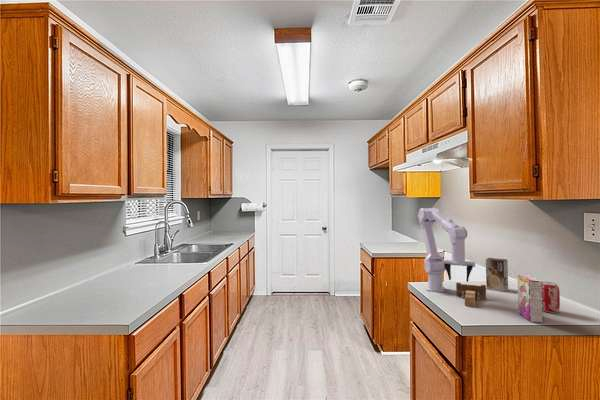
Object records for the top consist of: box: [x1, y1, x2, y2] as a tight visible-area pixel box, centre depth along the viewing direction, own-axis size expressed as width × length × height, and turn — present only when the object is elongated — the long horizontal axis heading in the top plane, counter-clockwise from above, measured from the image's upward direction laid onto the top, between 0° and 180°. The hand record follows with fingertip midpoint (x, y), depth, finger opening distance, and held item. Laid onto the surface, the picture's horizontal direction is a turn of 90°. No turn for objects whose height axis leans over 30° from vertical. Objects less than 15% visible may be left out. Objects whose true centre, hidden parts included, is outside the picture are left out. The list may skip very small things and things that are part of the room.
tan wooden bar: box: [464, 290, 477, 308], centre depth 163 cm, size 14×4×4 cm, turn 152°
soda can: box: [542, 281, 561, 314], centre depth 148 cm, size 7×7×12 cm
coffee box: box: [485, 257, 509, 293], centre depth 184 cm, size 9×6×16 cm
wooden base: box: [455, 282, 487, 301], centre depth 169 cm, size 5×13×6 cm, turn 61°
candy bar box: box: [517, 274, 544, 324], centre depth 140 cm, size 11×5×16 cm, turn 168°
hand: (458, 280), depth 167 cm, fingers open, 7 cm apart
